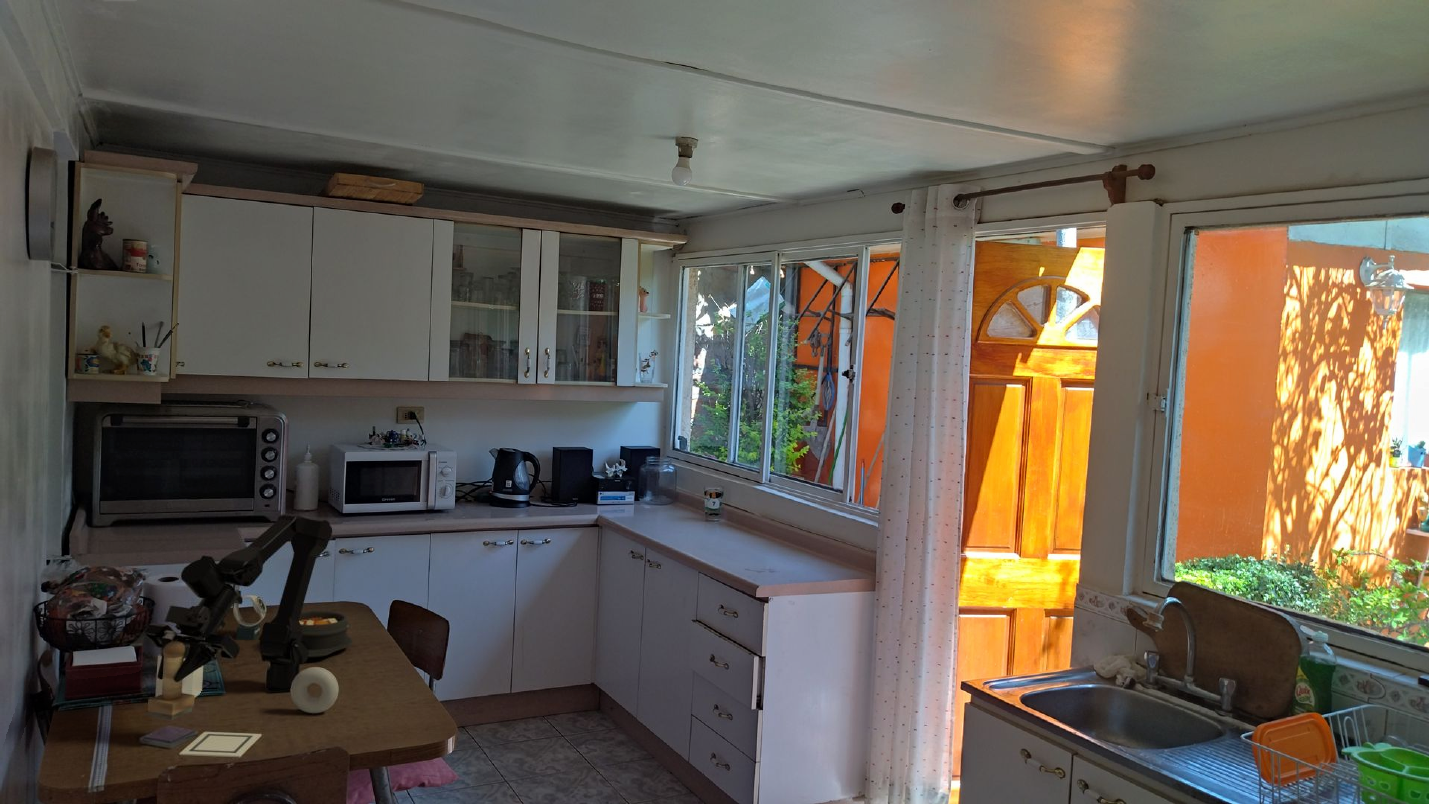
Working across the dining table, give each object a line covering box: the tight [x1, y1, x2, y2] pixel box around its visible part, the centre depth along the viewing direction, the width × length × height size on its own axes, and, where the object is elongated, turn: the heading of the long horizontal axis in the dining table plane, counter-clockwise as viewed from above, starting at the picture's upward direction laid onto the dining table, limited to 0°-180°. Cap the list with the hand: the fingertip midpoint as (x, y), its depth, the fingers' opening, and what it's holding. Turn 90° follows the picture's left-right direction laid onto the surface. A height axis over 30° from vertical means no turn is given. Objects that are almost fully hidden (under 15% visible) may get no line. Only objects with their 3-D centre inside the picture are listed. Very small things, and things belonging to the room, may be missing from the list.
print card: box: [178, 731, 262, 758], centre depth 190 cm, size 11×11×1 cm
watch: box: [232, 594, 268, 641], centre depth 260 cm, size 6×8×11 cm
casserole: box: [299, 610, 353, 658], centre depth 254 cm, size 25×19×8 cm
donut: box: [289, 666, 340, 714], centre depth 210 cm, size 10×4×10 cm, turn 94°
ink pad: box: [139, 725, 199, 749], centre depth 191 cm, size 7×7×1 cm
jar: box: [154, 644, 204, 699], centre depth 214 cm, size 9×8×12 cm
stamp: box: [147, 641, 195, 721], centre depth 191 cm, size 6×6×14 cm
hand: (167, 679), depth 189 cm, fingers closed on stamp, 3 cm apart
